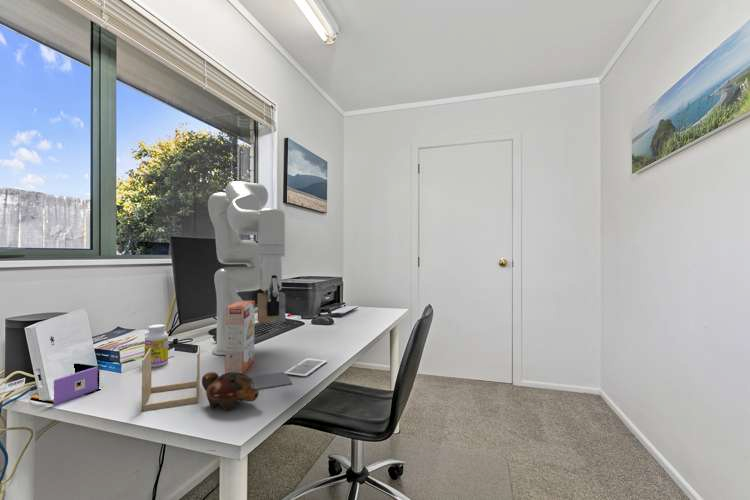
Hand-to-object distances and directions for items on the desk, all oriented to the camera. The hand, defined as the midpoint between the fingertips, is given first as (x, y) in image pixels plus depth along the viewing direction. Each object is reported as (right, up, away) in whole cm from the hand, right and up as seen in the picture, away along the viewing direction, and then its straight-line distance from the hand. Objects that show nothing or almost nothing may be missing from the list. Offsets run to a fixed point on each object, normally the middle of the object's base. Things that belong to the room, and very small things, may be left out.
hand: (271, 313), depth 100 cm
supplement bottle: (-42, -20, +14) cm, 49 cm away
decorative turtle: (-5, -20, -16) cm, 26 cm away
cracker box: (-13, -20, +11) cm, 26 cm away
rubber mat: (0, -20, 0) cm, 20 cm away
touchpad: (+8, -20, +11) cm, 24 cm away
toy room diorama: (-50, -20, -10) cm, 55 cm away
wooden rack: (-22, -20, -11) cm, 31 cm away
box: (0, -2, 0) cm, 2 cm away
